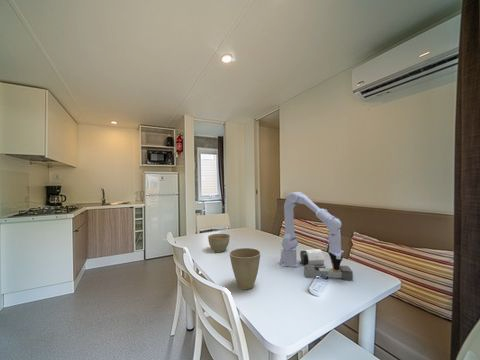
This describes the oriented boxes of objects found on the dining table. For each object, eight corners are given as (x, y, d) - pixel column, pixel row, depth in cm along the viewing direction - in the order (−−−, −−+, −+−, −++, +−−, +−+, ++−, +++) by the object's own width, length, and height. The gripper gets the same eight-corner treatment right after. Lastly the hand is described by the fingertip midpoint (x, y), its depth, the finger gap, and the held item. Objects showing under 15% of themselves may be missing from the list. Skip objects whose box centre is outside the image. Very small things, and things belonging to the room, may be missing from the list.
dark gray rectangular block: (343, 280, 103) (342, 271, 103) (339, 273, 110) (338, 265, 110) (352, 280, 102) (352, 271, 102) (348, 274, 109) (348, 265, 109)
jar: (325, 263, 120) (305, 264, 120) (321, 265, 127) (302, 266, 127) (322, 247, 124) (302, 248, 124) (318, 250, 131) (299, 251, 131)
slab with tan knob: (320, 276, 107) (319, 263, 107) (318, 273, 111) (318, 260, 111) (347, 278, 104) (346, 265, 104) (345, 275, 108) (344, 262, 108)
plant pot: (262, 279, 106) (261, 248, 106) (260, 294, 91) (259, 258, 91) (233, 277, 108) (233, 247, 109) (227, 292, 94) (226, 257, 94)
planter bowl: (229, 254, 145) (229, 238, 146) (206, 254, 146) (206, 239, 146) (230, 247, 161) (230, 233, 162) (210, 247, 162) (209, 233, 162)
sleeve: (305, 277, 107) (305, 269, 107) (304, 271, 114) (303, 264, 114) (328, 278, 105) (327, 270, 105) (325, 273, 111) (325, 265, 112)
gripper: (347, 246, 100) (348, 274, 99) (339, 238, 114) (340, 263, 113) (331, 245, 101) (332, 273, 101) (325, 238, 115) (326, 262, 115)
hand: (335, 268), depth 107 cm, fingers closed on slab with tan knob, 3 cm apart
